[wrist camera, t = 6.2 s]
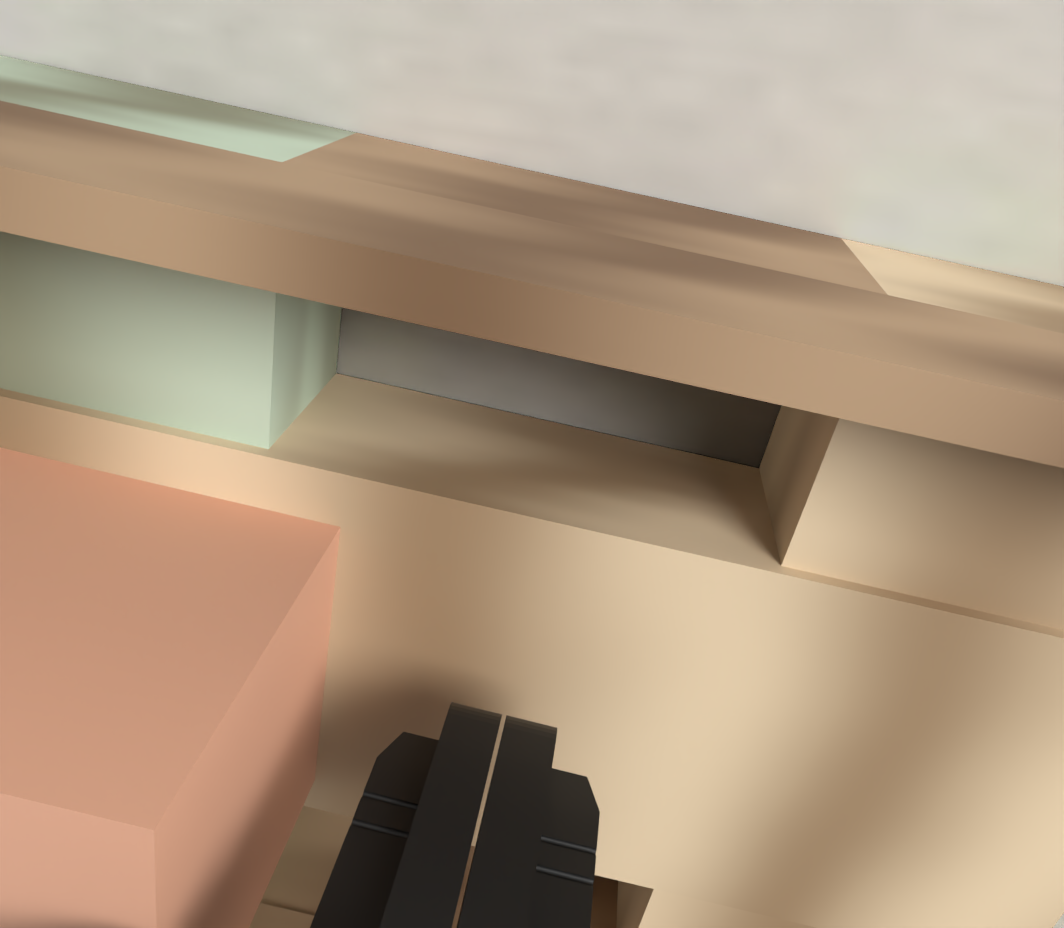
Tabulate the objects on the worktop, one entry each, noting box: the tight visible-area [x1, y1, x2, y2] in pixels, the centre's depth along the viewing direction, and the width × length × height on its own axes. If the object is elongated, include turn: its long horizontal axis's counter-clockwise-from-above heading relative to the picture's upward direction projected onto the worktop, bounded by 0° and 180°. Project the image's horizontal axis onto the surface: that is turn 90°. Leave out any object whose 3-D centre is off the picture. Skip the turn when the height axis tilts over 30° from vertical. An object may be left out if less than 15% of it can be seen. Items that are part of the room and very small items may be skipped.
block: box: [0, 448, 340, 928], centre depth 11 cm, size 5×5×5 cm
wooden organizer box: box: [0, 55, 1064, 928], centre depth 13 cm, size 20×14×6 cm
